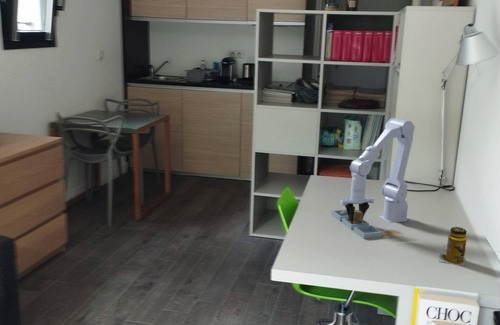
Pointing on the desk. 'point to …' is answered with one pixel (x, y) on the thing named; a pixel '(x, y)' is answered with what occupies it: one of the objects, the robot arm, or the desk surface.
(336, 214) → the dish
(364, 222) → the dish
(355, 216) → the letter block
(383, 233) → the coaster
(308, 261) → the desk surface
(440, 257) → the condiment
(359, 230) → the dish
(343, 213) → the grey ball
